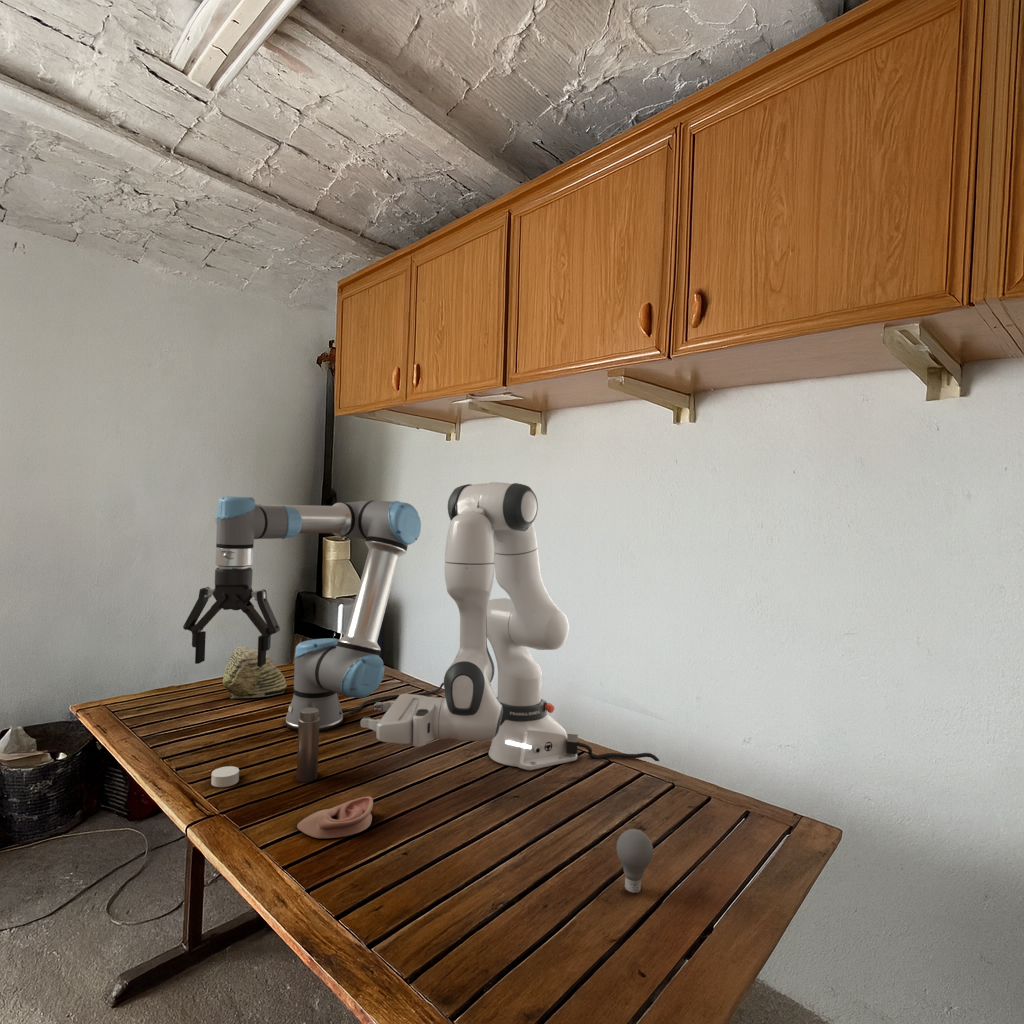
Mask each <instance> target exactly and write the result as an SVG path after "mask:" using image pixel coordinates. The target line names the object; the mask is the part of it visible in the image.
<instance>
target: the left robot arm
mask: <svg viewBox="0 0 1024 1024" xmlns="http://www.w3.org/2000/svg"><path fill="white" fill-rule="evenodd" d="M421 522H422V521H421V517H420V515H419V512H418V510H417V509H416V508H415V507H414V506H413V505H412V504H411V503H408V502H402V501H399V500H394V501H388V500H370V499H369V500H358V501H350V502H349V501H348V502H336V503H334V504H333V505H308V504H307V505H303V504H262V503H261V504H256V500H255V498H254V497H251V496H229V495H228V496H227V495H225V496H221V497H219V499H218V502H217V508H216V513H215V524H216V533H215V534H216V535H215V536H216V537H215V543H216V544H215V566H217V567H216V568H215V569H214V588H210V586H205V587H202V588H200V589H199V592H198V598H197V600H196V601H195V604H194V606H193V608H192V609H191V611H190V613H189V615H188V616H187V619H186V620H185V622H184V624H183V626H182V628H183V630H185V631H189V632H191V646H192V648H195V649H194V651H195V652H194V655H195V656H194V664H196V665H199V664H201V663H204V662H205V661H206V637H207V634H206V633H207V631H205V630H204V628H206V626H207V625H208V624H209V623H210V622H211V620H212V619H214V617H215V616H216V615H218V613H219V612H220V611H221V610H222V609H223V610H224V611H228V610H231V611H240V610H241V612H242V613H243V614H245V615H246V616H247V618H248V619H249V620H250V621H251V623H252V624H253V625H254V627H255V628H256V629H257V630H258V632H259V633H260V634H261V635H260V636H258V637H257V648H258V659H257V667H261V666H263V665H264V664H266V654H267V652H268V651H269V650H270V649H271V644H272V643H271V642H272V641H271V640H272V639H271V638H272V635H275V634H277V633H278V632H280V630H281V627H280V626H279V623H278V620H277V618H276V616H275V614H274V612H273V610H272V607H271V605H270V603H269V600H268V593H267V590H266V589H264V588H263V589H261V590H253V573H254V572H253V571H254V570H253V569H252V567H251V566H253V565H254V544H255V540H261V539H262V540H267V539H268V540H269V539H270V540H271V539H273V540H275V539H281V540H285V539H291V538H295V537H297V536H298V535H300V534H333V535H334V536H335V537H349V538H354V539H360V540H364V542H365V545H366V547H367V548H368V551H367V552H368V553H367V556H366V560H365V563H364V567H363V570H362V574H361V577H360V581H359V585H358V589H357V592H356V596H355V599H354V603H353V606H352V610H351V614H350V617H349V618H350V619H349V621H348V624H347V627H346V632H345V635H344V636H342V637H341V638H339V639H338V638H335V637H334V638H331V637H329V638H315V639H308V640H304V641H301V642H299V643H298V644H297V645H296V646H295V652H294V656H293V659H294V661H293V662H294V663H293V664H294V668H293V695H292V696H293V697H292V699H291V702H290V704H289V705H288V711H287V713H286V715H285V726H286V728H287V729H289V730H291V731H294V732H295V731H296V732H298V723H299V718H300V711H301V710H302V709H304V708H317V709H318V710H319V713H318V717H319V718H320V722H319V732H325V731H329V730H332V729H335V728H337V727H339V726H340V725H342V723H343V722H344V714H343V712H345V713H346V712H356V711H359V710H360V709H362V708H364V706H365V705H367V704H369V703H372V702H377V701H380V700H385V699H393V698H398V697H399V695H400V694H392V695H383V696H379V697H373V698H371V699H367V700H366V701H364V702H362V703H361V704H360V705H358V706H357V707H353V708H342V706H341V702H340V699H339V695H338V694H340V695H343V696H344V697H347V698H355V699H365V698H367V697H370V695H372V694H373V693H374V692H375V691H377V690H378V688H379V686H380V685H381V683H382V681H383V679H384V675H385V665H384V661H383V659H382V658H381V656H380V655H381V647H380V645H379V643H378V639H379V636H380V632H381V628H382V624H383V620H384V617H385V612H386V609H387V605H388V601H389V597H390V594H391V590H392V587H393V582H394V578H395V575H396V571H397V567H398V563H399V559H400V558H401V557H402V556H403V555H405V554H406V553H407V551H408V546H410V545H413V544H414V543H415V542H416V541H418V539H419V538H420V534H421V531H422V523H421ZM212 596H213V598H214V599H215V602H214V603H213V604H212V605H211V606H210V608H209V609H208V610H207V612H205V614H203V616H202V617H201V618H200V616H201V614H202V613H203V611H204V609H205V607H206V605H207V603H208V602H209V599H210V598H212ZM252 598H254V600H255V601H256V602H257V606H258V607H259V611H260V612H261V614H262V616H263V617H262V616H261V615H260V613H259V612H258V610H256V608H255V605H254V604H253V602H252V601H251V599H252ZM199 618H200V619H199ZM442 688H444V682H442V683H441V684H440V685H439V687H438V688H437V689H435V690H432V691H431V690H430V691H426V692H418V693H413V694H414V695H422V696H427V695H432V694H436V693H439V691H441V690H442Z"/></svg>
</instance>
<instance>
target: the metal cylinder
mask: <svg viewBox="0 0 1024 1024" xmlns="http://www.w3.org/2000/svg"><path fill="white" fill-rule="evenodd" d="M318 713H319V710H318V709H317V708H304V709H302V710H301V711H300V718H299V723H298V731H297V753H296V781H298V782H300V783H309V782H313V781H316V780H317V778H318V775H319V749H320V748H319V747H320V743H319V742H320V731H319V722H320V718H319V717H318Z"/></svg>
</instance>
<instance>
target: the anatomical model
mask: <svg viewBox="0 0 1024 1024" xmlns="http://www.w3.org/2000/svg"><path fill="white" fill-rule="evenodd" d="M373 805H374V799H373V797H372V796H362V797H357V798H355V799H352V800H348V801H346V802H343V803H341V804H338V805H336V806H334V807H331V808H326V809H322V810H319V811H316V812H313V813H312V814H310V815H307V816H306V817H304V818H303V819H301V820H300V821H299V822H298V823H297V825H296V828H297V829H298V830H299V831H300V832H301V833H304V835H306V836H309V837H312V838H314V839H319V840H320V839H334V838H335V839H337V838H342V837H348V836H353V835H356V834H358V833H361V832H363V831H365V830H367V829H368V828H369V827H370V826H371V824H372V821H373V815H372V813H371V812H372V810H373Z"/></svg>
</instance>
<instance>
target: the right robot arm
mask: <svg viewBox="0 0 1024 1024" xmlns="http://www.w3.org/2000/svg"><path fill="white" fill-rule="evenodd" d="M538 511H539V503H538V498H537V495H536V494H535V492H534V491H533V489H532V488H531V487H530V486H529V485H525V484H523V483H519V482H515V483H508V482H493V481H492V482H488V483H476V484H472V483H471V484H470V483H469V484H468V483H467V484H463V485H460V486H457V487H456V488H454V489H453V491H452V492H451V493H450V496H449V497H448V501H447V514H448V517H449V519H450V523H449V526H448V530H447V535H446V542H445V548H444V549H445V551H444V580H445V586H446V587H445V588H446V592H447V593H448V595H449V596H450V598H452V600H453V601H454V603H455V604H456V606H457V609H458V613H459V648H458V651H457V654H456V655H455V658H454V660H453V662H452V663H451V664H450V666H449V667H448V668H447V669H446V670H445V671H446V672H444V673H445V674H444V677H443V683H444V685H443V690H444V696H445V697H438V696H437V697H435V696H427V695H414V694H415V693H402V694H398V695H399V697H396V699H395V700H388V701H383V702H381V701H375V703H374V704H373V712H375V713H382V712H385V713H384V714H383V716H382V717H381V718H377V719H373V718H371V717H370V716H364V717H362V719H361V720H360V727H361V728H364V729H369V730H371V731H374V732H376V734H375V735H376V737H375V738H376V740H378V741H379V742H382V743H387V744H395V745H396V744H399V745H409V744H412V746H413V747H415V748H421V747H424V746H425V745H426V744H427V743H429V742H432V741H434V740H438V741H439V740H440V741H441V740H442V741H443V740H449V739H454V740H457V741H459V742H486V741H487V742H488V741H491V743H490V747H489V750H488V752H487V753H488V756H489V758H490V759H491V760H492V761H494V762H496V763H499V764H502V765H505V766H508V767H509V766H510V767H517V768H519V769H522V770H526V771H534V770H538V769H543V768H548V767H551V766H556V765H560V764H565V763H571V762H574V761H577V760H578V747H580V748H584V749H585V750H587V753H588V754H587V755H588V756H589V757H590V758H592V759H596V760H598V759H606V758H607V759H608V758H621V759H622V758H623V759H641V758H642V759H643V758H651V759H652V760H654V761H655V762H660V758H658V757H657V756H656V755H655V754H653V753H651V752H640V753H623V752H608V753H602V754H594V753H593V748H592V747H591V746H590V745H588V744H586V743H583V742H580V741H579V740H578V739H579V737H578V736H579V735H578V734H577V733H568V732H567V731H566V729H565V728H564V727H563V726H562V725H561V724H560V723H559V722H558V721H557V720H555V719H554V718H553V717H552V716H551V715H549V714H552V713H554V711H555V709H556V708H555V706H554V705H553V704H552V703H550V702H548V701H546V700H544V699H542V687H543V686H542V685H543V671H542V668H541V666H540V664H539V663H538V662H537V661H536V660H535V659H534V658H533V656H532V655H531V652H530V650H529V648H530V649H534V650H537V651H554V650H555V651H556V650H558V649H560V648H561V647H562V646H563V645H564V644H565V643H566V641H567V639H568V637H569V633H570V623H569V620H568V617H567V615H566V614H565V613H564V611H562V610H561V609H560V608H559V607H558V606H557V605H556V603H555V602H554V601H553V599H552V598H551V596H550V594H549V592H548V590H547V588H546V586H545V583H544V580H543V577H542V572H541V565H540V564H541V563H540V556H539V547H538V545H539V544H538V538H537V533H536V528H535V523H534V522H535V520H536V518H537V514H538ZM494 576H495V579H496V583H497V584H498V586H499V587H500V588H501V589H502V590H503V591H504V592H505V593H506V594H507V595H508V596H509V598H507V597H506V598H505V597H503V598H493V599H491V595H492V594H491V593H492V590H493V584H494ZM488 642H489V643H490V646H491V648H492V651H493V654H494V657H495V661H496V662H495V663H496V668H497V695H496V694H495V692H494V690H493V687H492V684H491V683H492V681H493V679H494V676H495V664H494V660H493V658H492V656H491V653H490V651H489V647H488Z"/></svg>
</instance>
